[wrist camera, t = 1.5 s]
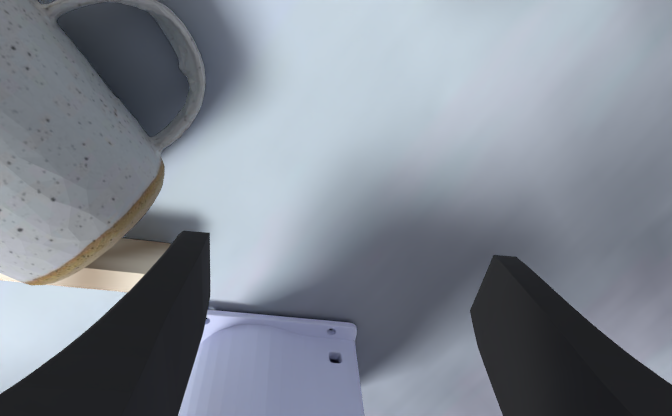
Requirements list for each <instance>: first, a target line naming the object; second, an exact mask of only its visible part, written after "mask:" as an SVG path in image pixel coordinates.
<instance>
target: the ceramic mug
mask: <svg viewBox="0 0 672 416" xmlns="http://www.w3.org/2000/svg"><path fill="white" fill-rule="evenodd" d="M104 2H118V3H121V4H125V5H130V6H135V7H137V8H138V9H141V10H145V11H147V12H148V13H149V14H150V15H151V16H153V18H154V19H155V20H156V21H157V23H158V25H159V26H160V28H161V29H162V31H163V32H164V34H165V35H166V37H167V38H168V40H169V42H170V44H171V45H172V47H173V49H174V51H175V53H176V55H177V57H178V59H179V69H180V70H181V72H182V73H183V74H184V75H185V76H187V78H188V83H189V86H190V89H189V92H188V95H187V99H186V103H185V105H184V106H183V108H182V109H181V110H180V111H179V112H178V114H177V117H176V118H175V119H174V120H173V121H172V122H171V123H170V124H169V125H168V126H167V127H166V128H165V129H163V130H162V131H161V132H160V133H158V134H157V135H156V136H152V137H150V136H148V135H147V133H146V132H145V131H144V130H143V128H142V127H141V126H140V124H139V123H138V121H137V119H135V118H134V117H133V115H132V114H131V113H130V112H129V111H128V110H127V109H126V107H125V106H124V105H123V103H122V102H121V101H120V99H119V98H117V97H115V95H114V94H113V93H112V92H111V91H110V89H109V88H108V87H107V86H106V84H105V83H104V82H103V81H102V79H101V78H100V76H99V75H98V74H97V73H96V71H95V70H94V69H93V68H92V67H91V64H90V63H89V62H88V61H87V59H86V58H85V57H84V55H83V54H82V53H80V52H79V50H78V49H77V48H76V47H75V45H74V43H73V42H72V41H71V40H70V39H69V37H68V36H67V35H66V34H65V33H64V32H63V30H62V29H61V27H60V26H59V25H58V24H57V19H58V18H59V17H60V16H61V15H62V14H65V13H67V12H70V11H72V10H75V9H78V8H81V7H84V6H88V5H92V4H97V3H104ZM205 86H206V84H205V69H204V63H203V61H202V58H201V54H200V52H199V50H198V48H197V46H196V43H195V41H194V39H193V38H192V36H191V34H190V33H189V31H188V29H187V28H186V26H185V25H184V23H183V22H182V21H181V20H180V19H179V18H178V17H177V16H176V14H175V13H174V12H173V11H172V10H170V9H169V8H168V7H167V6H165V5H164V4H162V3H160V2H158V1H156V0H56V1H54V2H52V3H49V4H40V3H39V2H38V1H37V0H0V273H1V274H3V275H6V276H8V277H10V278H13V279H15V280H17V281H20V282H22V283H26V284H29V285H46V284H52V283H55V282H57V281H60V280H62V279H65V278H67V277H69V276H71V275H73V274H75V273H77V272H79V271H80V270H82V269H83V268H85V267H86V266H88V265H89V264H91V263H92V262H93V261H95V260H96V259H97V258H99V257H100V256H101V255H102V254H104V253H105V252H106V251H108V250H109V249H110V248H111V247H113V246H114V245H115V244H116V243H117V242H118V241H119V240H120V239H121V238H122V237H123V236H124V235H125V234H126V233H127V232H128V231H129V230H131V229H132V228H133V227H134V226H135V225H136V224H137V223H138V221H139V220H140V219H141V218H142V217H143V216H144V215H145V214H146V212H147V211H148V210H149V208H150V207H151V206H152V204H153V203H154V201H155V199H156V198H157V196H158V194H159V192H160V190H161V188H162V185H163V179H164V164H163V161H162V159H161V153H162V150H163V149H164V148H166V147H168V146H170V145H171V144H172V143H173V142H174V141H175V140H177V139H179V138H180V137H181V135H182V134H183V133H184V132H185V131H186V130H187V129H188V128H189V127H190V126H191V124H192V122H193V120H194V119H195V117H196V115H197V114H198V112H199V110H200V108H201V105H202V102H203V97H204V91H205Z"/></svg>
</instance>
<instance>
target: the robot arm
mask: <svg viewBox="0 0 672 416" xmlns="http://www.w3.org/2000/svg"><path fill="white" fill-rule="evenodd" d="M209 299H210V233H204V232H191V231H183V232H182V233H180V234H179V235H178V236H177V238H176V239H175V240H174V241H173V243H172V244H171V245H170V246H169V248H168V249H167V250H166V251H165V252H164V254H163V255H162V256H161V257H160V258H159V259H158V260H157V262H156V263H155V264H154V265H153V266H152V267H151V268H150V270H149V271H148V272H147V273H146V274H145V275H144V276H143V277H142V278H141V279H140V280H139V281H138V282H137V283H136V284H135V286H134V287H133V288H132V289H131V290H130V291H129V292H128V293H127V294H126V295H125V296H124V297H123V298H122V299H120V300H119V301H118V302H117V303H116V304H115V305H114V306H113V307H112V308H111V309H110V310H109V311H108V312H107V313H106V314H105V315H104V316H103V317H101V318H100V319H99V320H98V321H97V322H96V323H95V324H94V325H92V326H91V327H90V328H89V329H88V330H87V331H85V332H84V333H83V334H82V335H81V336H79V337H78V338H77V339H76V340H74V341H73V342H72V343H71V344H70V345H68V346H67V347H66V348H65V349H63V350H62V351H61V352H59V353H58V354H57V355H55V356H54V357H53V358H51V359H50V360H49V361H47V362H46V363H45V364H43V365H42V366H41V367H39V368H38V369H36V370H35V371H34V372H32V373H31V374H29V375H28V376H27V377H25V378H24V379H22V380H21V381H19V382H18V383H16V384H15V385H14V386H12V387H10V388H9V389H7V390H6V391H4V392H3V393H1V394H0V416H178V414H179V416H365V415H364V408H363V400H362V393H361V385H360V377H359V370H358V362H357V355H356V347H355V339H356V335H357V327H356V325H354V324H353V323H349V322H338V321H327V320H316V319H305V318H294V317H283V316H272V315H261V314H250V313H239V312H228V311H217V310H208V305H209ZM470 313H471V318H472V323H473V328H474V332H475V336H476V341H477V345H478V348H479V351H480V354H481V357H482V360H483V363H484V365H485V368H486V371H487V374H488V376H489V379H490V382H491V384H492V387H493V390H494V393H495V395H496V398H497V401H498V403H499V406H500V409H501V411H502V414H503V416H672V385H671V384H670V383H668V382H667V381H665V380H664V379H663V378H661V377H660V376H658V375H657V374H656V373H654V372H653V371H651V370H650V369H649V368H647V367H646V366H644V365H643V364H642V363H640V362H639V361H638V360H636V359H635V358H634V357H632V356H631V355H630V354H628V353H627V352H626V351H624V350H623V349H622V348H621V347H619V346H618V345H617V344H616V343H614V342H613V341H612V340H611V339H609V338H608V337H607V336H606V335H605V334H603V333H602V332H601V331H600V330H598V329H597V328H596V327H595V326H594V325H593V324H591V323H590V322H589V321H588V320H587V319H586V318H584V317H583V316H582V315H581V314H580V313H579V312H578V311H576V310H575V309H574V308H573V307H572V306H571V305H570V304H569V303H567V302H566V301H565V300H564V299H563V298H562V297H561V296H560V295H559V294H558V293H556V292H555V291H554V290H553V289H552V288H551V287H550V286H549V285H548V284H547V283H545V282H544V281H543V280H542V279H541V278H540V277H539V276H538V275H537V274H536V273H534V272H533V271H532V270H531V269H530V268H529V267H528V266H526V265H525V264H524V263H523V262H522V261H520V260H519V259H518V258H517V257H511V256H498V255H493V258H492V260H491V263H490V265H489V267H488V270H487V272H486V274H485V277H484V279H483V281H482V284H481V286H480V289H479V291H478V293H477V296H476V298H475V300H474V303H473V305H472V307H471V310H470ZM206 318H209V319H206ZM328 329H333V330H328ZM180 407H181V408H180ZM179 411H180V412H179Z"/></svg>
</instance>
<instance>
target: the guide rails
mask: <svg viewBox="0 0 672 416" xmlns="http://www.w3.org/2000/svg"><path fill="white" fill-rule="evenodd" d="M170 245H171V243H163V242H153V241H144V240H135V239H126V238H121V239H120V240H119V241H118V242H117V243H116V244H115V245H114V246H113V247H111V248H110V249H109V250H108V251H106V252H105V253H104V254H102V255H101V256H100V257H99V258H97V259H96V260H95V261H93V262H92V263H91V264H89V265H88V266H86V267H85V268H83V269H82V270H80V271H79V272H77V273H75V274H73V275H71V276H69V277H67V278H65V279H62V280H60V281H57V282H55V283H52V284H46V285H56V286H66V287H77V288H87V289H98V290H109V291H119V292H129V291H130V290H131V289H132V288H133V287H134V286H135V284H136V283H137V282H138V281H139V280H140V279H141V278H142V277H143V276H144V275H145V274H146V273H147V272H148V271H149V270H150V268H151V267H152V266H153V265H154V264H155V263H156V262H157V260H158V259H159V258H160V257H161V256H162V255H163V254H164V252H165V251H166V250H167V249H168V248H169V246H170ZM0 280H3V281H13V282H20V281H17V280H15V279H13V278H10V277H8V276H6V275H3V274H1V273H0Z"/></svg>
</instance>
